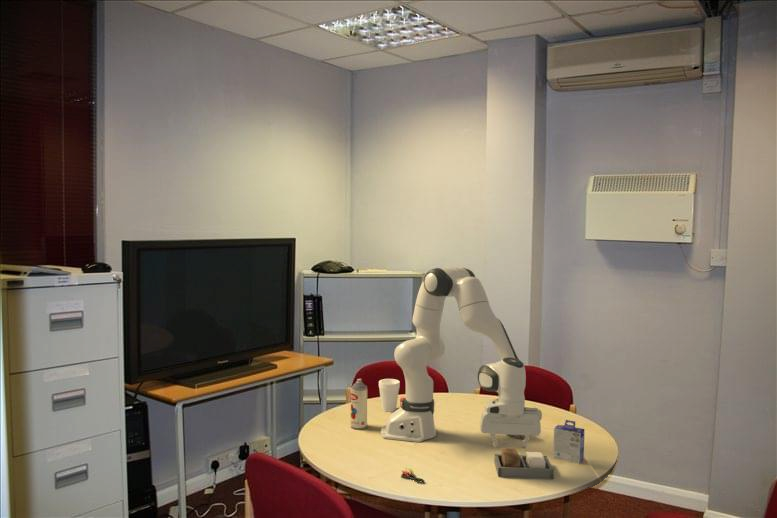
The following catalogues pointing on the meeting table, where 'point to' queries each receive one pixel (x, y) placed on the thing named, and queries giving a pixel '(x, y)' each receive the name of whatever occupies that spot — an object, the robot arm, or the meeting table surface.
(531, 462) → the off-white block
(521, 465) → the holder
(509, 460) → the walnut block
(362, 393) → the aerosol can
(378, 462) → the meeting table surface
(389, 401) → the foam cup
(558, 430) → the ink cartridge box
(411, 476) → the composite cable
